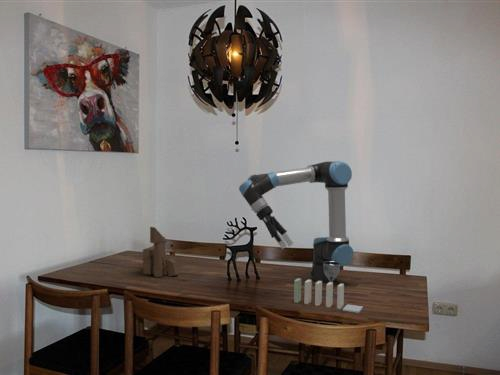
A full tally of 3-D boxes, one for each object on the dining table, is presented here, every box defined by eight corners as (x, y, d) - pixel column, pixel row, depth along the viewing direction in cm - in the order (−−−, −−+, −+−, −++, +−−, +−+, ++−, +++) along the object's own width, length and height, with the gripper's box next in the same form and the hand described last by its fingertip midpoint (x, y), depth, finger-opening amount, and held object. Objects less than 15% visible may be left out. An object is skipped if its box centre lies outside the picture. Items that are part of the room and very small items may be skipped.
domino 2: (304, 303, 206) (304, 281, 206) (307, 301, 211) (308, 279, 210) (307, 304, 205) (308, 282, 205) (311, 301, 210) (311, 279, 210)
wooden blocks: (171, 280, 247) (171, 228, 246) (137, 277, 253) (137, 226, 251) (189, 270, 270) (189, 223, 269) (158, 268, 276) (158, 221, 275)
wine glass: (337, 291, 228) (337, 261, 227) (340, 295, 220) (341, 264, 219) (321, 291, 228) (321, 261, 227) (324, 295, 220) (325, 264, 219)
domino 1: (293, 302, 208) (294, 280, 208) (297, 299, 213) (298, 278, 212) (297, 302, 208) (297, 280, 207) (300, 299, 212) (301, 278, 212)
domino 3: (315, 305, 204) (315, 283, 204) (318, 302, 208) (318, 280, 208) (318, 305, 203) (318, 283, 203) (321, 303, 208) (322, 281, 207)
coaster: (347, 305, 204) (347, 304, 204) (362, 307, 201) (362, 306, 201) (342, 310, 197) (342, 309, 197) (358, 312, 194) (358, 311, 194)
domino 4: (325, 307, 202) (326, 284, 201) (329, 304, 206) (329, 282, 206) (329, 307, 201) (329, 285, 201) (332, 304, 206) (333, 282, 205)
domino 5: (337, 308, 200) (337, 286, 199) (340, 305, 204) (340, 283, 204) (340, 309, 199) (341, 286, 198) (343, 306, 203) (344, 283, 203)
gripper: (263, 213, 231) (287, 248, 226) (248, 214, 207) (275, 253, 202) (274, 205, 229) (299, 239, 224) (260, 204, 205) (288, 243, 201)
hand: (288, 246), depth 213 cm, fingers open, 13 cm apart
